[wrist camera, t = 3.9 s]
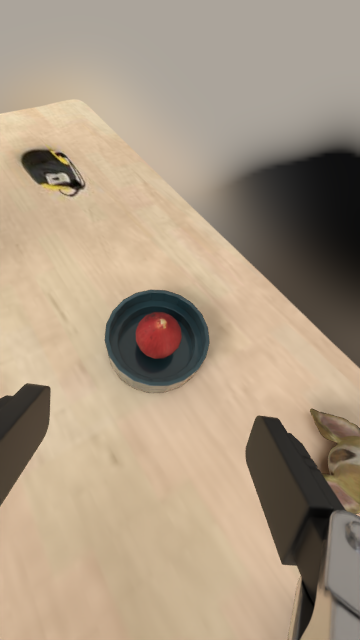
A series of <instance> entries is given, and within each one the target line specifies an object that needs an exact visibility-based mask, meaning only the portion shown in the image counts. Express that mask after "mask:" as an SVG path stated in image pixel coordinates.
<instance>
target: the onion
mask: <svg viewBox="0 0 360 640" xmlns="http://www.w3.org/2000/svg"><path fill="white" fill-rule="evenodd" d="M181 338H182V336H181V328H180V326H179V324H178V322H177V320H175V319H174V318H173V317H172V316H171V315H169V314H167V313H164V312H154V313H151V314H148V315H146V316H145V317H144V318H143V319H142V320H141V321H140V322H139V324H138V327H137V329H136V342H137V344H138V346H139V348H140V350H141V351H142V352H143V353H144V354H145V355H146V356H149V357H151V358H154V359H159V358H165V357H167V356H170V355H171V354H172V353H173V352H174V351H175V350H176V349H177V348H178V347H179V344H180V341H181Z"/></svg>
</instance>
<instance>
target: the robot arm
mask: <svg viewBox="0 0 360 640" xmlns="http://www.w3.org/2000/svg"><path fill="white" fill-rule="evenodd" d="M49 415H50V387H49V386H43V385H36V384H28V383H27V384H25V385H24V386H23V387H22V388H21V389H20V390H19V391H18V392H17V393H16V394H15V395H14V396H5V397H3V398H1V399H0V506H1V504H2V503H3V501H4V500H5V498H6V496H7V495H8V493H9V492H10V490H11V489H12V487H13V485H14V484H15V482H16V481H17V479H18V478H19V476H20V475H21V473H22V471H23V470H24V468H25V467H26V465H27V464H28V462H29V461H30V459H31V457H32V456H33V454H34V453H35V451H36V450H37V448H38V446H39V445H40V443H41V442H42V440H43V439H44V437H45V434H46V432H47V429H48V425H49ZM246 462H247V466H248V468H249V471H250V474H251V477H252V480H253V483H254V486H255V488H256V491H257V494H258V497H259V500H260V503H261V506H262V508H263V511H264V514H265V517H266V520H267V523H268V526H269V528H270V531H271V534H272V537H273V540H274V543H275V545H276V548H277V551H278V554H279V557H280V560H281V563H282V564H283V565H295V566H297V567H298V569H299V572H300V574H301V576H300V578H299V580H298V583H297V589H296V594H295V600H294V606H293V611H292V617H291V623H290V628H289V634H288V640H360V517H359V516H357V515H355V514H353V513H351V512H348V511H346V510H345V508H344V507H343V505H342V504H341V502H340V501H339V499H338V498H337V496H336V494H335V493H334V491H333V490H332V488H331V487H330V485H329V484H328V482H327V481H326V479H325V478H324V476H323V475H322V473H321V472H320V470H318V469H317V466H316V464H315V463H314V461H313V460H312V459H311V458H310V455H309V454H308V452H307V450H306V449H305V447H304V446H303V444H302V443H300V442H299V441H298V440H297V439H296V438H295V437H294V436H293V435H292V434H291V433H287V431H286V430H285V428H284V426H283V425H282V423H281V422H280V420H279V419H278V418H273V417H266V416H257V417H256V419H255V421H254V424H253V427H252V430H251V433H250V437H249V440H248V443H247V446H246Z"/></svg>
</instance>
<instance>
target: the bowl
mask: <svg viewBox="0 0 360 640" xmlns="http://www.w3.org/2000/svg"><path fill="white" fill-rule="evenodd" d="M154 312H164V313H167V314H169V315H171V316H172V317H173V318H174V319H175V320H177V322H178V324H179V326H180V328H181V336H182V338H181V341H180V344H179V347H178V348H177V349H176V350H175V351H174V352H173V353H172V354H171V355H170V356H167V357H165V358H159V359H154V358H151V357H149V356H146V355H145V354H144V353H143V352H142V351H141V350H140V348H139V346H138V344H137V342H136V329H137V327H138V324H139V322H140V321H141V320H142V319H143V318H144V317H145V316H146V315H148V314H151V313H154ZM105 343H106V347H107V351H108V355H109V358H110V362H111V365H112V367H113V369H114V370H115V372H116V373H117V375H118V376H119V377H120V379H122V380H123V381H124V382H126V383H127V384H128V385H130V386H131V387H132V388H135V389H138V390H141V391H145V392H148V393H163V392H167V391H170V390H173V389H176V388H178V387H180V386H181V385H183V384H184V383H185V382H186V381H188V380H189V379H190V378H191V377H192V376H193V375H194V374H195V373H196V371H197V370H198V369H199V367H200V366H201V364H202V363H203V361H204V359H205V358H206V355H207V351H208V347H209V333H208V327H207V324H206V322H205V320H204V318H203V315H202V314H201V313H200V311H199V310H198V309H197V308H196V307H195V306H194V305H193V303H191V302H190V301H188V300H187V299H185V298H184V297H182V296H181V295H178V294H175V293H172V292H169V291H165V290H147V291H143V292H138V293H135V294H133V295H132V296H130V297H128V298H126V299H124V300H123V301H122V302H121V303H120V304H119V305H118V306H117V307H116V308H115V309H114V310H113V311H112V314H111V316H110V318H109V320H108V322H107V324H106V332H105Z"/></svg>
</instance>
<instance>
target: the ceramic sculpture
mask: <svg viewBox="0 0 360 640" xmlns="http://www.w3.org/2000/svg"><path fill="white" fill-rule="evenodd" d="M310 412H311V415H312V417H313V419H314V421H315V423H316V425H317V427H318V429H319V431H320V433H321V435H322V436H323V437H324V438H326V439H328V440H330V441H333V442H336V443H337V445H336V446H335V447H333V448H332V449H331V450H330V453H329V456H328V468H329V472H330V474H323V473H322V475H323V476H324V478H325V479H326V481H327V482H328V484H329V485H330V487H331V488H332V490H333V491H334V493H335V494H336V496H337V498H338V499H339V501H340V502H341V504H342V505H343V507H344V508H345V510H346V511H348V512H351V513H353V514H358V513H360V428H359V427H358V426H357V425H355V424H353V423H350V422H349V421H348V420H346V419H345V418H341V417H337V416H334V415H330V414H326V413H322V412H319V411H317V410H314V409H310Z"/></svg>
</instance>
